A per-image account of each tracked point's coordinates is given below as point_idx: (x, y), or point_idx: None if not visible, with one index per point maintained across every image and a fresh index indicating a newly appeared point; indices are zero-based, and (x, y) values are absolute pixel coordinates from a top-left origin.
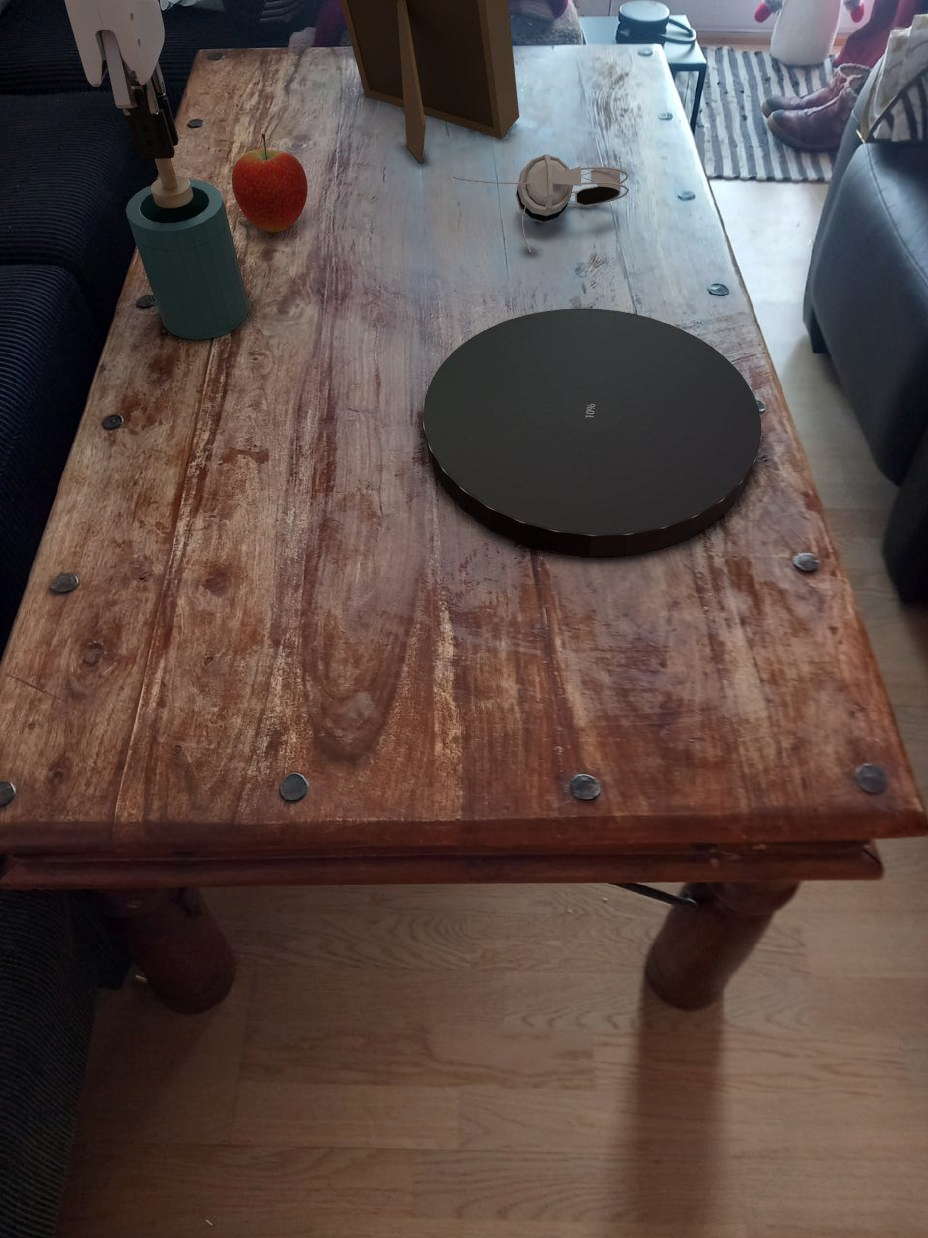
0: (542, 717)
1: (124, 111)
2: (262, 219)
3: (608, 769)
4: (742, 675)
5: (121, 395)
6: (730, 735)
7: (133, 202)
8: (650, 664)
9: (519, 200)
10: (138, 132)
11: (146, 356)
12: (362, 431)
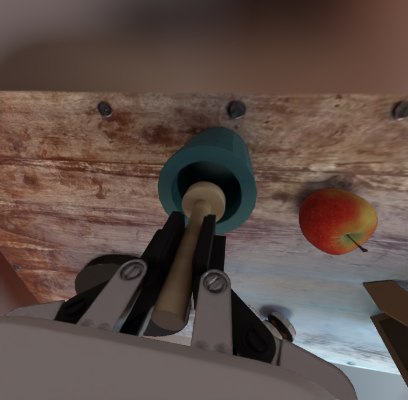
0: (30, 264)
1: (120, 268)
2: (302, 205)
3: (24, 272)
4: (62, 299)
5: (129, 110)
6: (45, 293)
7: (211, 152)
8: (57, 286)
9: (276, 319)
10: (147, 247)
11: (170, 121)
12: (124, 235)
